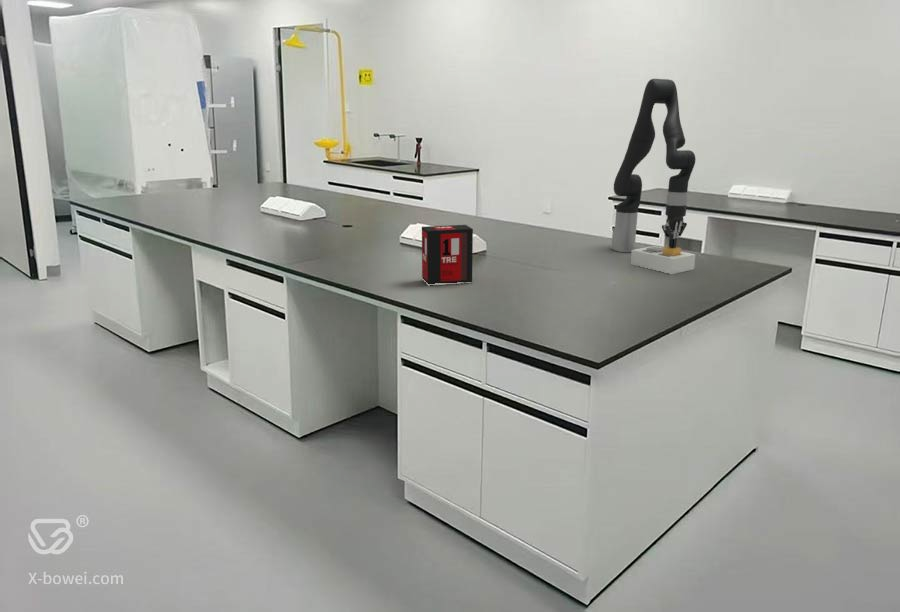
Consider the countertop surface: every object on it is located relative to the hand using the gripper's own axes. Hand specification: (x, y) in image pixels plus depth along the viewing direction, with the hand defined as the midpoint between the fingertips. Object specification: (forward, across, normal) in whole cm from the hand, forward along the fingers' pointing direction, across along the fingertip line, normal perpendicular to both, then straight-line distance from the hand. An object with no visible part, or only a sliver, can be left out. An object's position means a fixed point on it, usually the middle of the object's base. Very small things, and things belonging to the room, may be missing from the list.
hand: (672, 247), depth 267 cm
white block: (+6, 0, -8) cm, 10 cm away
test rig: (+9, 0, -4) cm, 10 cm away
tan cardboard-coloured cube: (+5, 0, 0) cm, 5 cm away
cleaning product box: (+9, +84, -34) cm, 91 cm away
